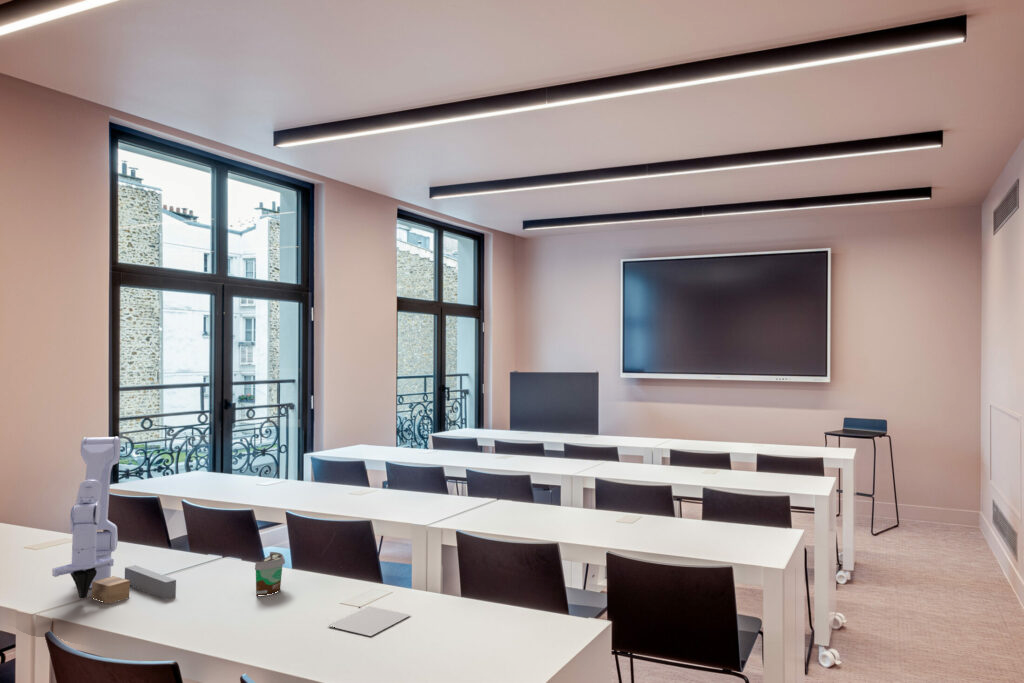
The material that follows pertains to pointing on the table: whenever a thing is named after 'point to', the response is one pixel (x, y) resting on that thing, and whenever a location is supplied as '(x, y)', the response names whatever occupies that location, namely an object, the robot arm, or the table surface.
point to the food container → (269, 574)
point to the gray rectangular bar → (151, 582)
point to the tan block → (110, 589)
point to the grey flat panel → (369, 620)
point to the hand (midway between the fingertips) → (82, 597)
